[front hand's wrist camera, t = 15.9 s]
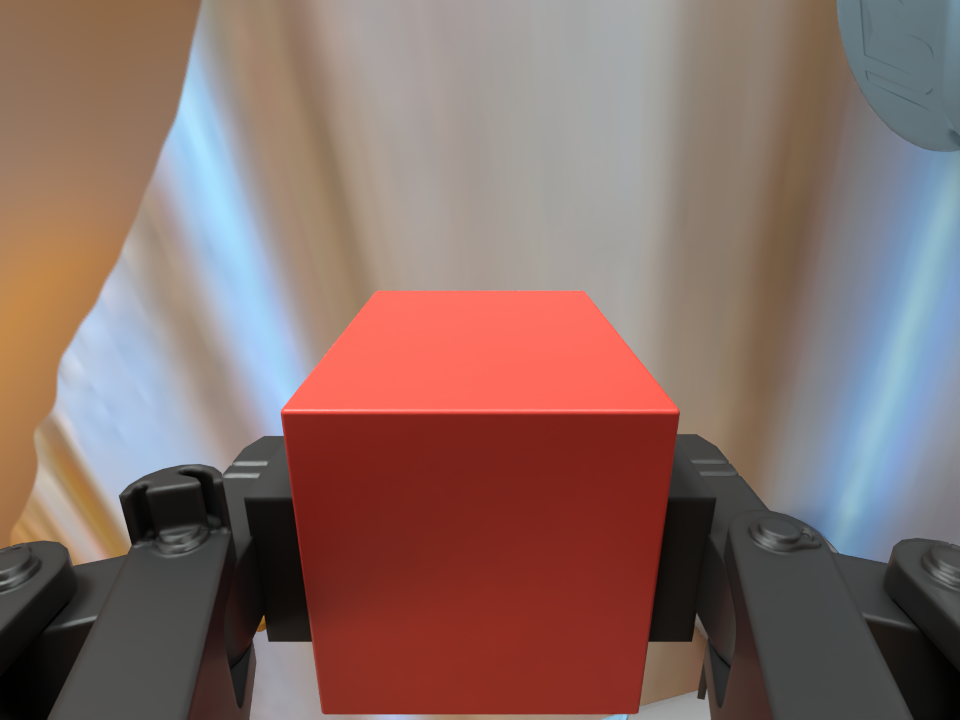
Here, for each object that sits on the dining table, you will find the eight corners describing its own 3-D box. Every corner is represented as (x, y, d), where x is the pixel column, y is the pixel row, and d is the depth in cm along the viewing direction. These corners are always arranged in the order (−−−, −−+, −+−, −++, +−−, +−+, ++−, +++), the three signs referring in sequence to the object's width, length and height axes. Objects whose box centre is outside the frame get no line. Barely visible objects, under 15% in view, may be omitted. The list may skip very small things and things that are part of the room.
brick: (375, 290, 14) (278, 410, 7) (584, 290, 14) (682, 410, 7) (387, 481, 16) (320, 716, 9) (572, 481, 16) (639, 716, 9)
